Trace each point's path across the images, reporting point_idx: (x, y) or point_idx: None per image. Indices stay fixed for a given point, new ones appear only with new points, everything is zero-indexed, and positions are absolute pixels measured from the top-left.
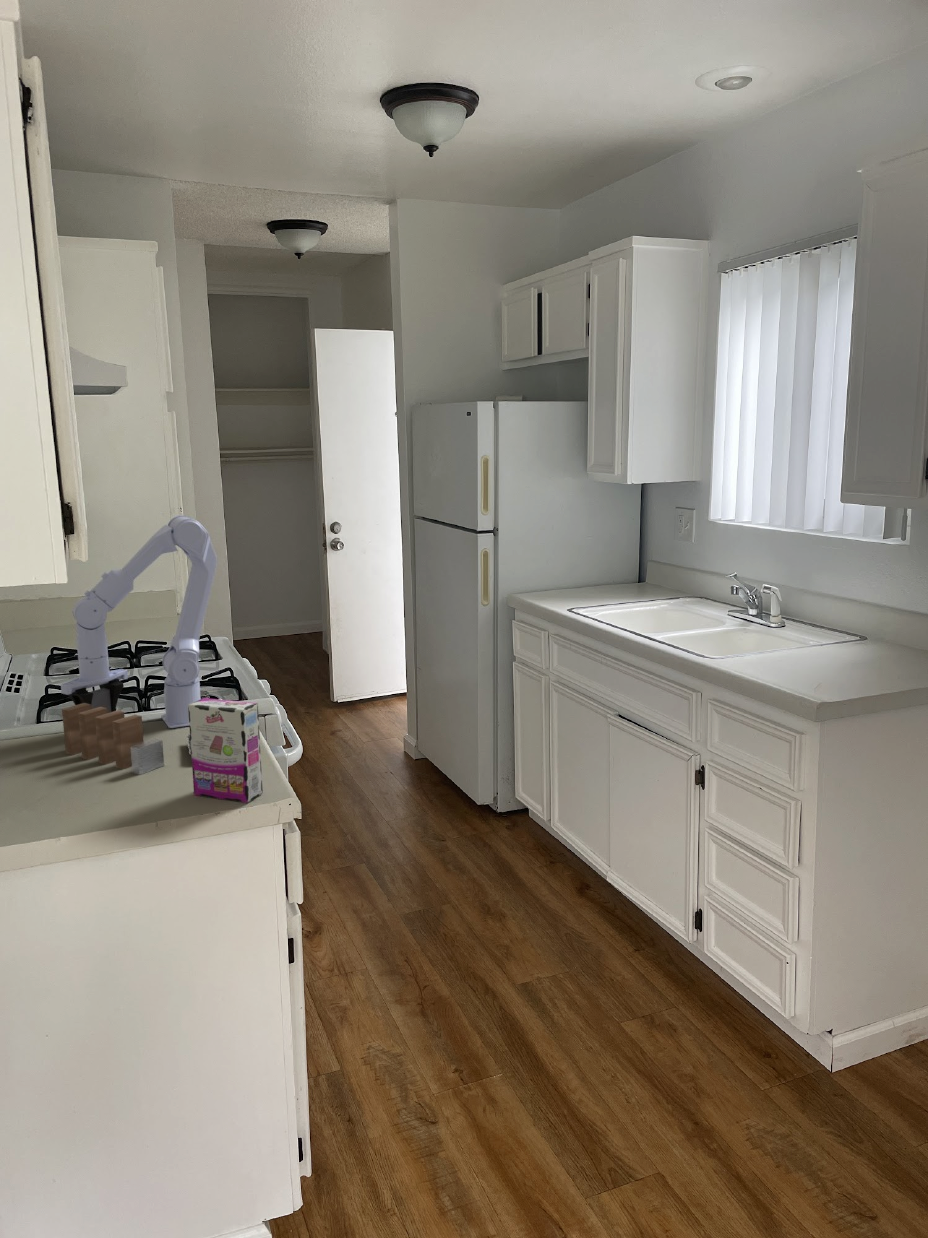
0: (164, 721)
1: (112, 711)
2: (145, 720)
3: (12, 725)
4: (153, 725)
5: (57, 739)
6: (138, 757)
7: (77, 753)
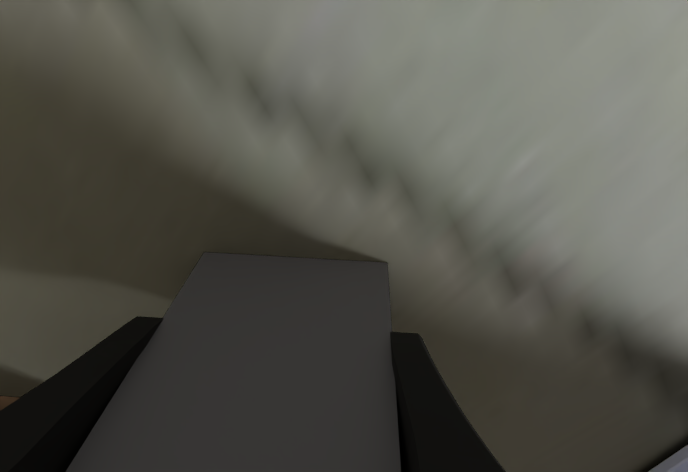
0: (655, 469)
1: None
2: (676, 338)
3: None
4: (583, 440)
5: (9, 131)
6: None
7: None
